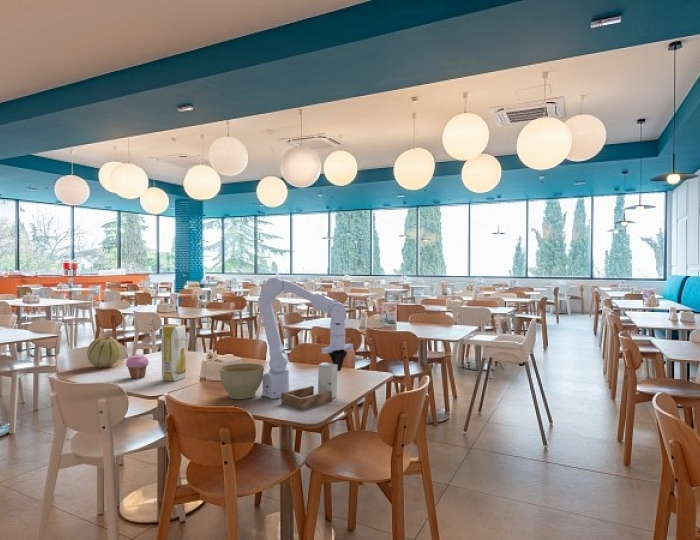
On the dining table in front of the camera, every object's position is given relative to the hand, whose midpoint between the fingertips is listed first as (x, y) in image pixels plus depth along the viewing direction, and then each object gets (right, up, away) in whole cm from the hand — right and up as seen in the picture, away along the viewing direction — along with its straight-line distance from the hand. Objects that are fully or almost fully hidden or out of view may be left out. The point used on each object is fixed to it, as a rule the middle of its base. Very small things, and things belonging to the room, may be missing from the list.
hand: (337, 370), depth 178 cm
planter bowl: (-35, -9, -3) cm, 37 cm away
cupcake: (-88, -9, +27) cm, 92 cm away
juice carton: (-71, -9, +24) cm, 75 cm away
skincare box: (-4, -9, -4) cm, 10 cm away
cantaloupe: (-113, -9, +48) cm, 123 cm away
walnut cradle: (-11, -9, -11) cm, 18 cm away
